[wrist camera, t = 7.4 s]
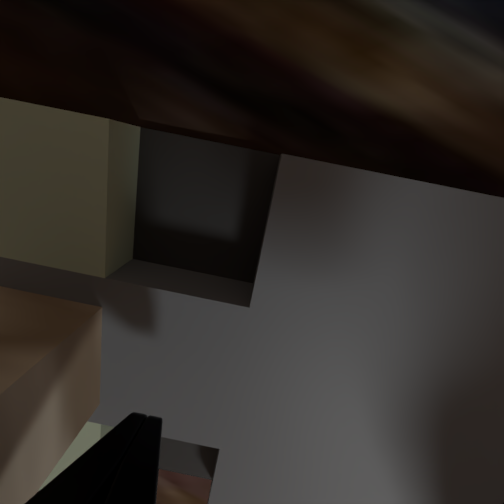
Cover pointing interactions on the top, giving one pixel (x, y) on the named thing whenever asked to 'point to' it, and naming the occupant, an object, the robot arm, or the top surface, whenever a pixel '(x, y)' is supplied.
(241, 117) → the top surface
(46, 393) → the block
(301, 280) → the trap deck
